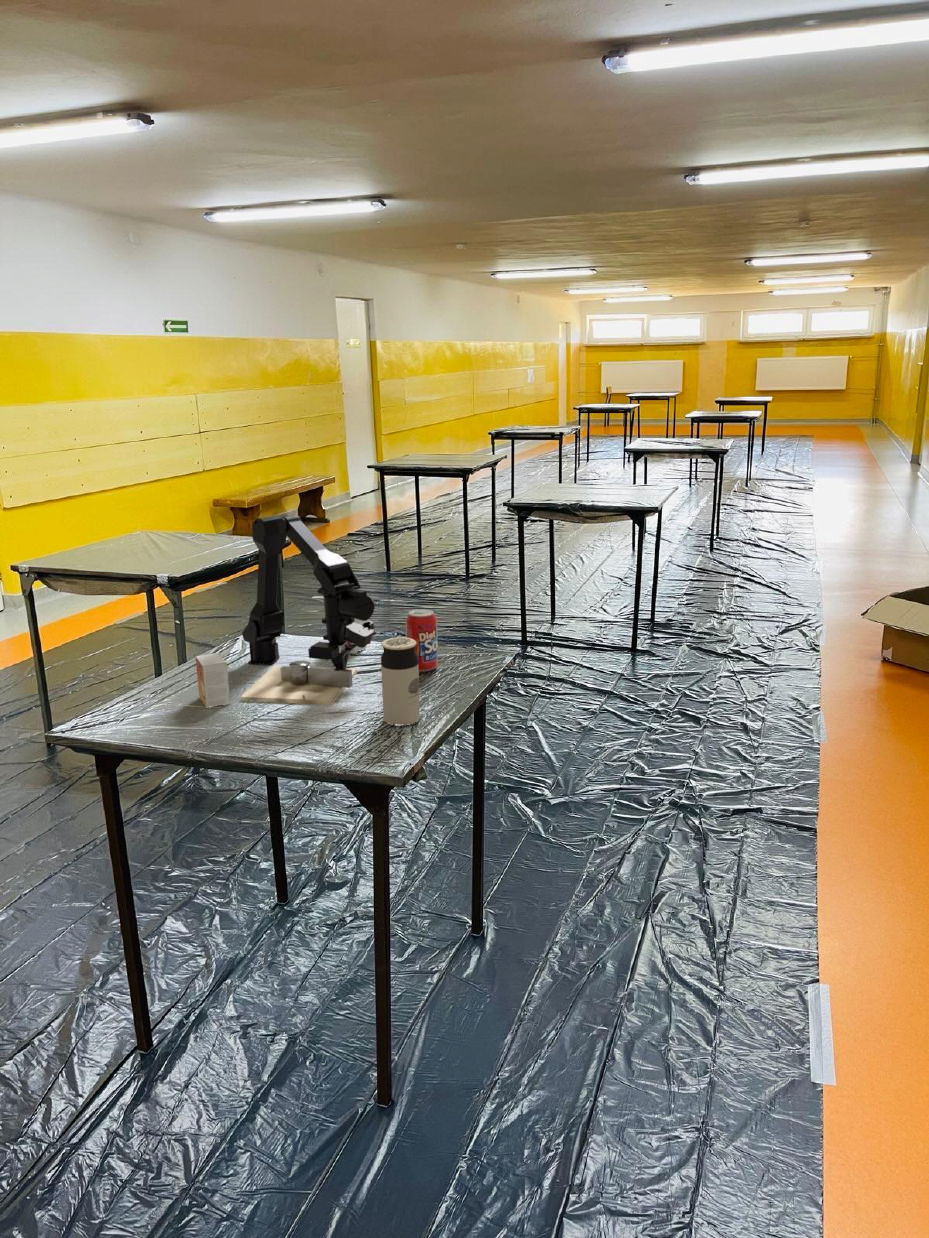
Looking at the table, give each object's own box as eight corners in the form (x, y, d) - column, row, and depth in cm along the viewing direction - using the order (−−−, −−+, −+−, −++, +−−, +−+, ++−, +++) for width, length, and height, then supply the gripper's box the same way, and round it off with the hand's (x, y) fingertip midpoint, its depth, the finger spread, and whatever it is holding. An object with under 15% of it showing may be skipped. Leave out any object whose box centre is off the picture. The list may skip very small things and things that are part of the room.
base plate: (240, 700, 204) (240, 696, 204) (274, 669, 225) (273, 665, 225) (331, 704, 201) (331, 700, 201) (357, 672, 222) (356, 668, 221)
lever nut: (277, 682, 212) (276, 665, 211) (288, 675, 216) (286, 658, 215) (346, 690, 206) (345, 672, 205) (355, 683, 211) (354, 666, 209)
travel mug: (376, 720, 192) (372, 642, 187) (403, 710, 197) (400, 634, 192) (400, 730, 186) (397, 650, 181) (427, 719, 192) (425, 641, 187)
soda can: (409, 663, 228) (407, 608, 224) (438, 663, 228) (437, 608, 224) (405, 673, 221) (403, 616, 216) (436, 673, 220) (435, 616, 216)
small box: (199, 698, 206) (194, 655, 203) (223, 693, 209) (219, 652, 206) (206, 709, 199) (201, 665, 196) (230, 704, 202) (226, 661, 199)
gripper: (347, 627, 195) (352, 692, 199) (385, 605, 211) (389, 665, 216) (304, 623, 199) (310, 687, 204) (345, 601, 215) (350, 661, 220)
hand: (342, 675), depth 211 cm, fingers closed
